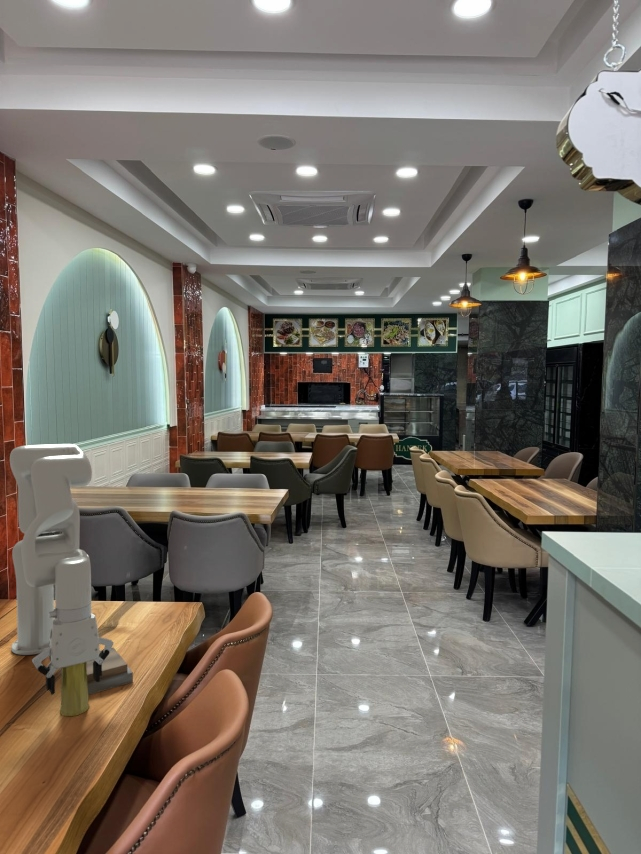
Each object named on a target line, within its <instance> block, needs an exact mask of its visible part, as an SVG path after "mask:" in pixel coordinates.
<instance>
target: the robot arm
mask: <svg viewBox="0 0 641 854" xmlns="http://www.w3.org/2000/svg"><path fill="white" fill-rule="evenodd" d="M9 465H10V469H11V472H12V475H13V477H14V479H15V481H16V484H17V490H18V491H17V493H18V495H17V496H18V498H17V504H18V505H17V506H18V507H17V509H18V511H17V512H18V515H17V516H18V520H17V521H18V527H19V531H20V532H21V533H22V534H24V535H23V538H22V540H19V541H18V542H16V543H15V544H14V546H13V548H12V552H11V553H12V555H11V557H12V562H13V568H14V574H15V580H16V581H15V582H16V584H15V585H16V625H17V626H16V627H17V628H16V629H17V630H16V631H17V633H16V635H17V636H16V637H17V640H16V641H14V642H13V643H12V644H11V647H10V650H11V652H12V653H14V654H16V655H19V656H32V655H36V656H35V657H33V658H32V659H31V662H32V664H33V665H34V667H35V668H36V669H37V671H38V672H39V673H40V674H42V675H44V676H45V688H46V691H49V693H50V695H51V696H52V695H55V693H56V677H55V674H54V673H55V672H56V671H57V670H58V669H61V668H65V667H69V666H73V665H77V664H81V663H85V662H88V661H92V660H95V661H94V662H93V678H94V679H95V681H96V682H100V676H102V664H103V662H104V660H105V658H106V657H107V656H108V655H109V652H110V650H111V648H113V646H114V642H113V640H112V639H108V638H104V637H101V636H99V628H98V623H97V618H96V615H95V614H94V613H92V570H91V569H92V567H91V566H92V565H91V560H90V556H89V554H88V553H87V552H86V551H85V550H84V549H80V529H81V528H80V525H81V518H80V517H81V516H80V515H81V514H80V509H79V508H80V507H79V506H78V503H77V502H76V501H75V500H74V499H73V496H72V491H71V488H73V487H75V488H76V487H84V486H87V485H90V483H91V481H92V476H93V471H92V469H93V468H92V465H91V462H90V460H89V458H88V456H87V455H86V453H85V452H84V451H83V450H82V449H81V448H80V447H79V446H78V445H76V444H74V443H73V444H72V443H53V444H30V445H28V444H27V445H21V446H17V447H15V448H13V449H12V450H11V452H10V454H9ZM56 532H61V533H59V534H54V535H53V534H51V535H42V536H41V534H48V533H56ZM39 535H40V536H39ZM54 596H55V598H54ZM54 600H55V601H54ZM54 602H55V603H54ZM54 604H55V605H54ZM100 645H102V646H104V648H103V649H101V650H102V651H101V650H100ZM100 651H101V653H100V654H99V652H100ZM47 658H48V659H49V661H50V662H49V663H48V664H47V665H44V664H42V661H44V660H46V659H47Z"/></svg>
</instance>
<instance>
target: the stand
mask: <svg viewBox="0 0 641 854" xmlns="http://www.w3.org/2000/svg"><path fill="white" fill-rule="evenodd" d="M102 650H103V649H101V650H100V652H99V654H100V653H101V651H102ZM94 661H95V660H92V661H88V662H86V667H87V685H88V696H89V695H93V694H96V693H99V692H103V691H106V690H111V689H113V688H117V687H120V686H123V685H128V684H131V683H133V682H134V673H133V671H132V670H131V668H130V667H129V666H128V663H127V662H126V661H125V659H124V658H123V657H122V656H121V655H120V654H119V652H118V651H117V650H116V648H114V647H113V646H112V648H111V650H110V652H109V655H108V656H107V657H106V658H105V660H104V662H103V664H102V676H100V682H96V681H95V679H94V678H93V662H94ZM61 673H62V668H60V674H61ZM127 683H128V684H127Z"/></svg>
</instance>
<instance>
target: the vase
mask: <svg viewBox="0 0 641 854" xmlns="http://www.w3.org/2000/svg"><path fill="white" fill-rule="evenodd" d="M60 677H61V680H60V681H61V682H60V709H59V712H60V714H61V716H64V717H76V716H79V715H82V714H84V713H85V712H86V711H88V709H89V707H90V704H89V695H88V685H87V667H86V662H85V663H81V664H77V665H73V666H69V667H65V668H62V673H61V672H60Z"/></svg>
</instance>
